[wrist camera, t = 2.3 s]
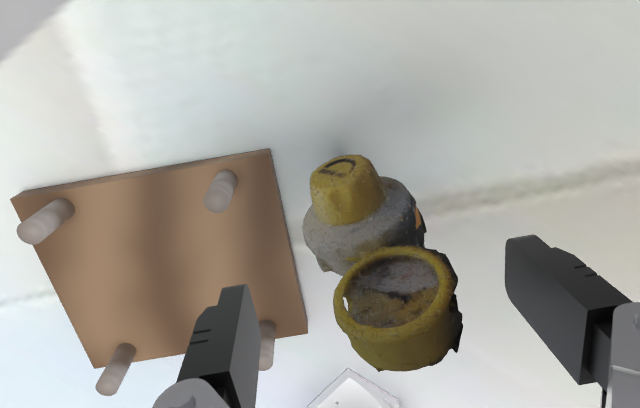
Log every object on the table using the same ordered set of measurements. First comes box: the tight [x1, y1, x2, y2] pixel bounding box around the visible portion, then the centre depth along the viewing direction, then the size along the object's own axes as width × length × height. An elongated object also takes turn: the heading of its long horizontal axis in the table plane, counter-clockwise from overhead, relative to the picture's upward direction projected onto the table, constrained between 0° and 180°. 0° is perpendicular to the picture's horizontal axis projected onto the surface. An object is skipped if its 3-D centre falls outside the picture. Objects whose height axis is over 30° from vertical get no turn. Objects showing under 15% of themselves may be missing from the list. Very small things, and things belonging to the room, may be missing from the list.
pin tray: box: [10, 148, 308, 396], centre depth 23 cm, size 14×12×4 cm
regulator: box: [302, 155, 463, 372], centre depth 17 cm, size 8×4×15 cm, turn 23°
